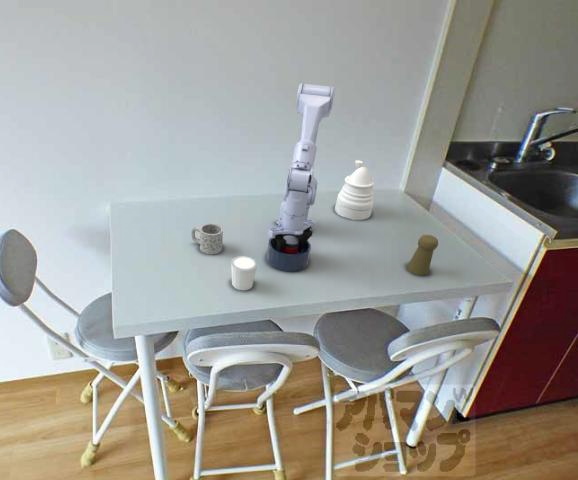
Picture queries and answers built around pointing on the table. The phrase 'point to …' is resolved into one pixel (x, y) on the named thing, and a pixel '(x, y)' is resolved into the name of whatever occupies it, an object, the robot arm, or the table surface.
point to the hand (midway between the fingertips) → (288, 253)
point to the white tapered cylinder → (243, 272)
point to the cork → (423, 255)
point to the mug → (209, 238)
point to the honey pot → (356, 195)
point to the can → (290, 245)
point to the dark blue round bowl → (288, 257)
